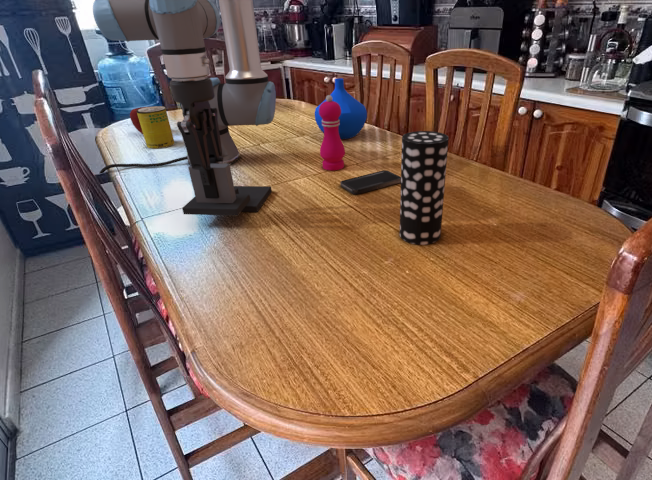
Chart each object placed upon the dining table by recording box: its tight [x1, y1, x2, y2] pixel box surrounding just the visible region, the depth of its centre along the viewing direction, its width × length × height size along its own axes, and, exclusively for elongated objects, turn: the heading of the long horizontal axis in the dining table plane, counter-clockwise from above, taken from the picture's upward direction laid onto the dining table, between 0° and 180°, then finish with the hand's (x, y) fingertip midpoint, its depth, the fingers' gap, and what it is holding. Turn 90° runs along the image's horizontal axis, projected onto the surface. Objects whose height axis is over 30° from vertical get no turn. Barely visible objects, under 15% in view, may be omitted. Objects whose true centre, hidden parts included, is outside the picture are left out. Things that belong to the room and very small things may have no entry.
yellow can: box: [136, 105, 175, 150], centre depth 142 cm, size 9×9×12 cm
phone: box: [339, 169, 401, 195], centre depth 109 cm, size 8×1×15 cm
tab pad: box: [181, 164, 250, 217], centre depth 90 cm, size 12×12×10 cm
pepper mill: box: [319, 94, 346, 172], centre depth 116 cm, size 7×7×20 cm
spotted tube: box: [399, 130, 450, 246], centre depth 80 cm, size 8×8×20 cm
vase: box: [314, 77, 368, 140], centre depth 145 cm, size 18×18×19 cm
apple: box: [129, 106, 146, 135], centre depth 155 cm, size 10×10×10 cm
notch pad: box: [234, 185, 273, 213], centre depth 101 cm, size 14×12×2 cm
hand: (215, 194), depth 90 cm, fingers closed on tab pad, 2 cm apart
